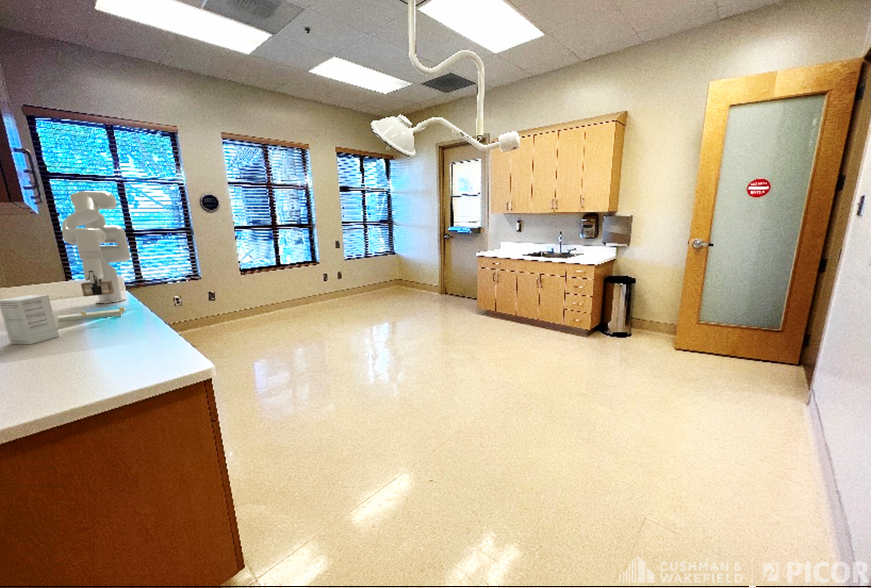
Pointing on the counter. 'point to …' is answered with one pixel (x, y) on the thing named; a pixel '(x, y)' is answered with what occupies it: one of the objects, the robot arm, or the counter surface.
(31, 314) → the supplement box
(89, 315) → the panel
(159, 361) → the counter surface
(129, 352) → the counter surface
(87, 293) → the frame
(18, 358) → the counter surface
